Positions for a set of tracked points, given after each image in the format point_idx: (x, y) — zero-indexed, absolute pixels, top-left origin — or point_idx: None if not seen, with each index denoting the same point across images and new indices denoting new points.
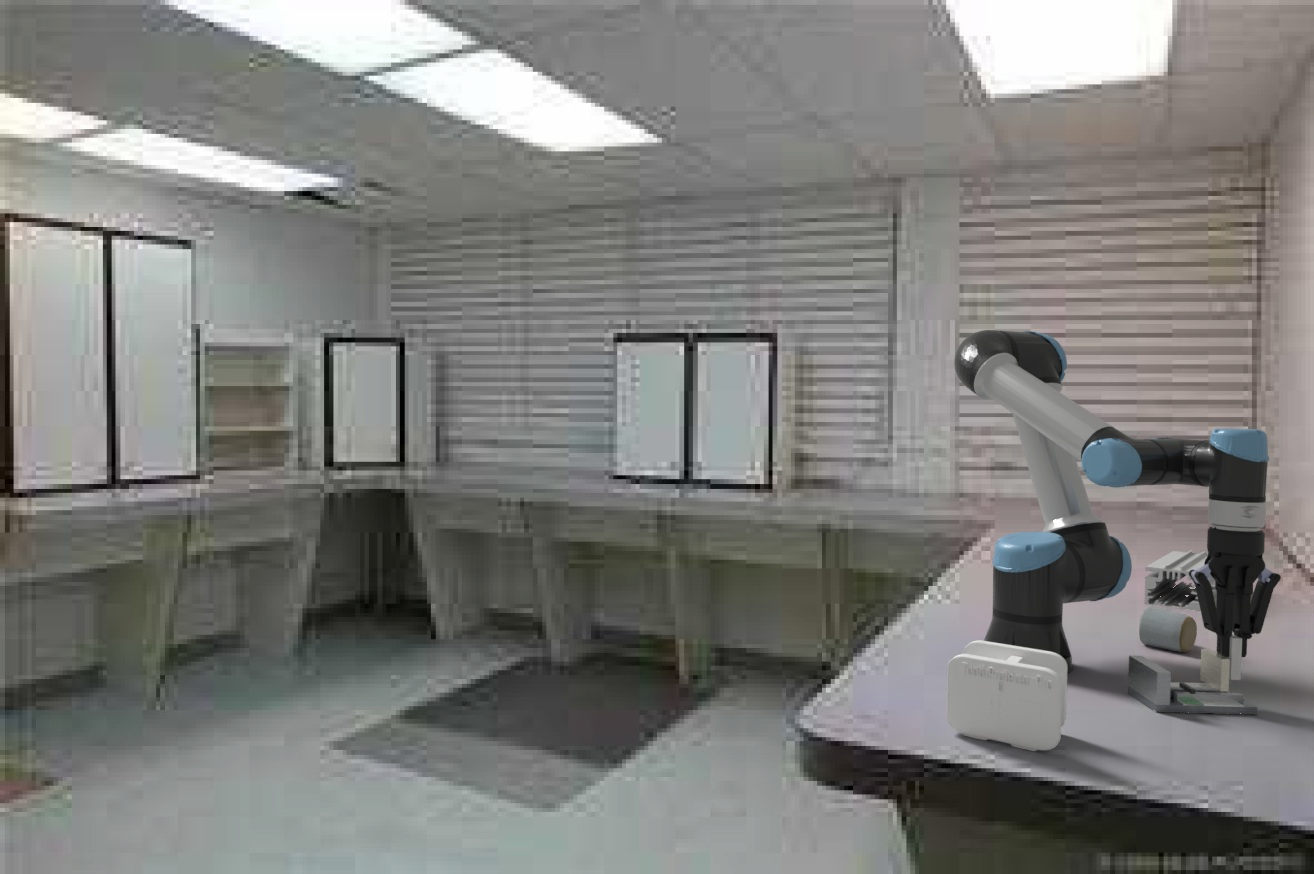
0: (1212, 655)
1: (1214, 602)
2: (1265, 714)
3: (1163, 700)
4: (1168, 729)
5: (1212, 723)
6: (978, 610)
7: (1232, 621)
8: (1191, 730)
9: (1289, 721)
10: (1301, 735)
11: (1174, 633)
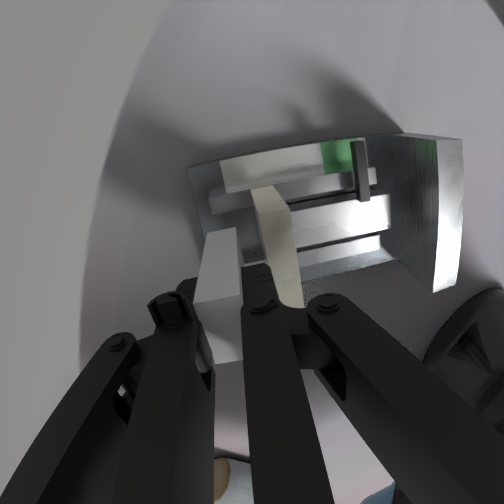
0: (297, 266)
1: (414, 424)
2: (168, 179)
3: (406, 134)
4: (406, 40)
5: (315, 79)
6: (389, 478)
7: (244, 356)
8: (369, 36)
9: (133, 145)
10: (145, 56)
11: (237, 476)
